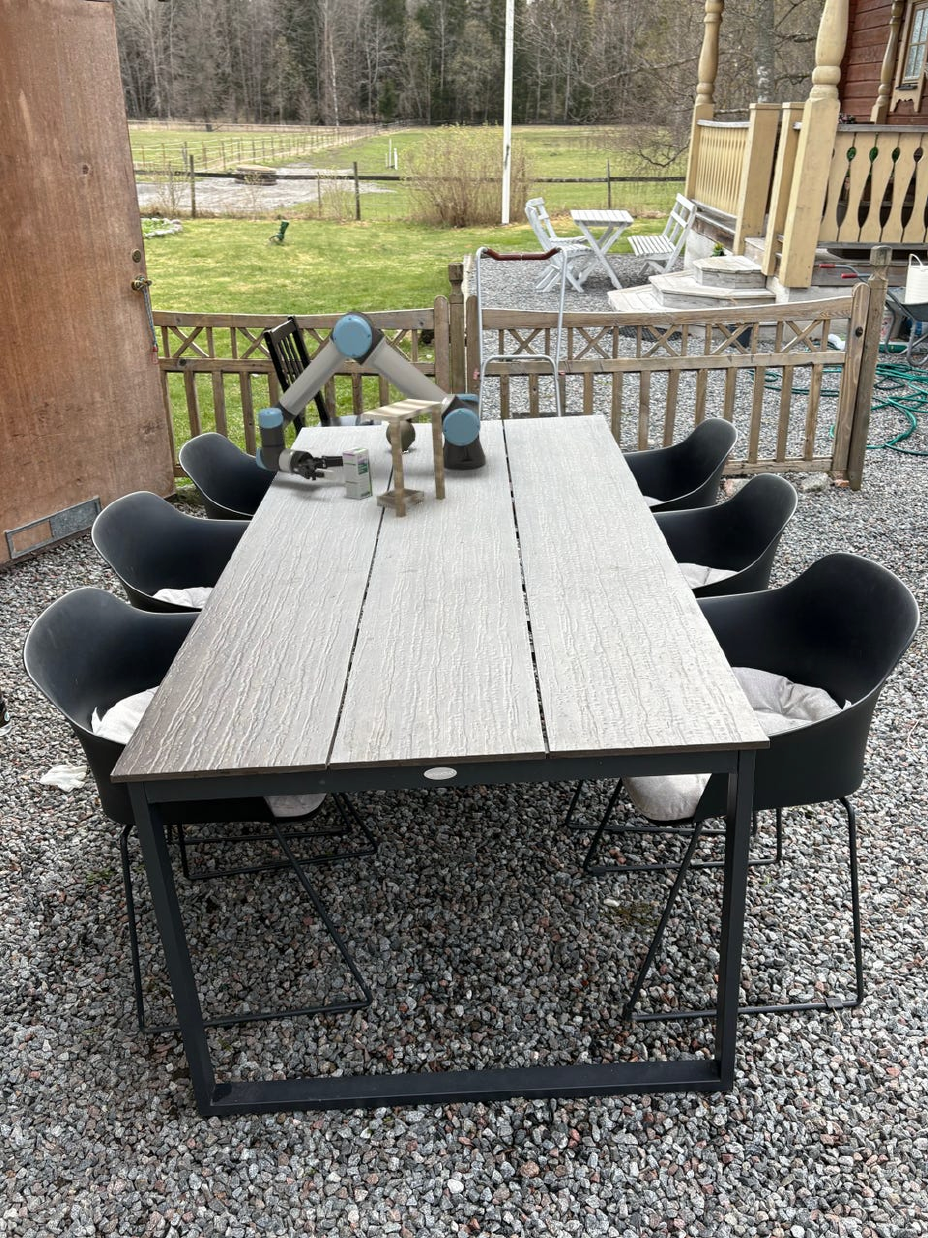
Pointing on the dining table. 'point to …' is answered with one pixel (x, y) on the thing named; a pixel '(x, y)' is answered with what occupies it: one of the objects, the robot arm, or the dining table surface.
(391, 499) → the awning stand
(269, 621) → the dining table surface
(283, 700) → the dining table surface
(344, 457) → the syrup box
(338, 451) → the dining table surface
